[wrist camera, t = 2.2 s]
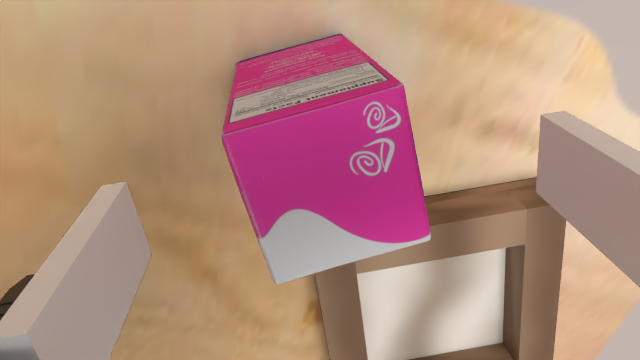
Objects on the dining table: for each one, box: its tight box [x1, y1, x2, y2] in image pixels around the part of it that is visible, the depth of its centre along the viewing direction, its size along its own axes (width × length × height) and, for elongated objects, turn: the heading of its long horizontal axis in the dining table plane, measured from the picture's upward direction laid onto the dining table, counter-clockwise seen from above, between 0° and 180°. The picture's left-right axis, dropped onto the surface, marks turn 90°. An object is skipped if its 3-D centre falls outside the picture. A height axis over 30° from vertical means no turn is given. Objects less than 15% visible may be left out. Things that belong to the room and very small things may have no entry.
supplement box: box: [222, 34, 431, 284], centre depth 20 cm, size 6×6×12 cm
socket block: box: [315, 178, 566, 360], centre depth 30 cm, size 14×14×3 cm
